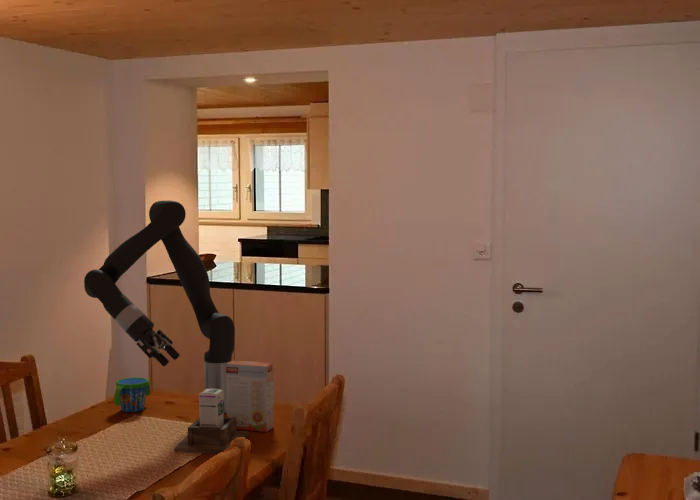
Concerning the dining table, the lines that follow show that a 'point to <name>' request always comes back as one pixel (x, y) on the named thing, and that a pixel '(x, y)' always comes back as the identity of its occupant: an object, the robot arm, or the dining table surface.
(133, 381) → the snack cup
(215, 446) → the socket holder
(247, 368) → the cracker box
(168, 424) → the dining table surface
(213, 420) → the syrup box
